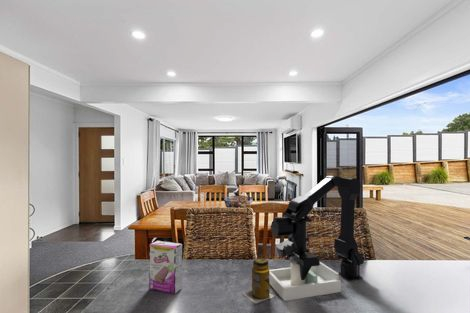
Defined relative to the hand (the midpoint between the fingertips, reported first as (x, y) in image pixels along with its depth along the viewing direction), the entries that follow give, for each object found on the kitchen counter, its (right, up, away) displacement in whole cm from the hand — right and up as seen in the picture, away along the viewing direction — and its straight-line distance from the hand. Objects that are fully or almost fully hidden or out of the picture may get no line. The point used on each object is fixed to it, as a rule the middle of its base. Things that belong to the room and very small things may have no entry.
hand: (298, 276), depth 94 cm
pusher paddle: (+4, -2, +1) cm, 5 cm away
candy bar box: (-49, -4, -2) cm, 49 cm away
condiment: (-15, -4, -6) cm, 17 cm away
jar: (0, -2, 0) cm, 2 cm away
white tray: (+1, -4, 0) cm, 4 cm away
